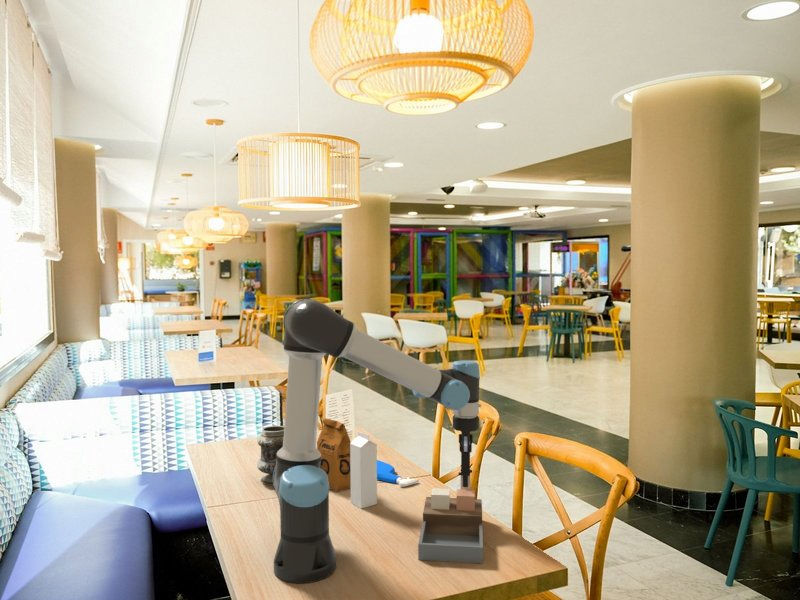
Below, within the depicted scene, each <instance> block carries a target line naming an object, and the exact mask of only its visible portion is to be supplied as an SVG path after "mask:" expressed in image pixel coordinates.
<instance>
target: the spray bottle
mask: <svg viewBox="0 0 800 600" xmlns="http://www.w3.org/2000/svg"><path fill="white" fill-rule="evenodd" d="M379 480H380V482H385V483H386V482H387V483H391V484H397V485H399V488H404V487H408V486H411V485H414V484H415V485H416V484H417V483H419V479H417V478H416V479H414V478H410V477H409V476H407V477H406V478H403V477H402V476H401V475H396V474H395V467H394V466H393V465H391V463H390V464H389V463H387V462H384V461H381V460H379V459H377V481H379Z"/></svg>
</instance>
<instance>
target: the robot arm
mask: <svg viewBox="0 0 800 600" xmlns="http://www.w3.org/2000/svg"><path fill="white" fill-rule="evenodd" d="M282 318H283V319H282V320H283V321H282V325H283V328H284V340H283V351H284V352H285V354H286V355H288V367H287V368H288V369H287V381H286V382H287V384H286V397H285V400H286V401H285V413H284V425H283V426H284V440H283V447H282V448H281V449H280V450H279V451H278V452H277V457H276V467H275V469H274V473H273V485H272V486H273V487H274V490H275V492H276V496H277V500H278V503H279V511H280V514H279V515H280V517H279V518H280V525H279V526H280V539H279V543H278V546H277V548H276V553H275V555H274V558H273V574H274V575H275V576H276V577H277V578H278V579H280V580H282V581H285V582H287V583H288V582H289V583H297V584H302V583H303V584H304V583H313V582H316V581H319V580H320V581H321V580H323V579H326V578H327V577H329V576H330V575H332V574H333V573H334V572H335V571H336V569H337V554H336V551H335V547H334V544H333V542H332V538H331V536H330V518H329V517H330V514H329V513H330V503H329V502H330V500H329V499H330V497H329V496H330V495H329V494H330V488H329V482H328V476H327V474H326V472H325V471H324V470H322V469H321V468H320V464H321V453H320V452H319V451H318V449H317V439H318V438H317V437H318V436H317V435H318V425H319V424H318V423H319V407H320V406H319V405H320V395H321V394H320V393H321V378H322V364H323V363H322V362H323V358H324V357H325V356H326V355H328V356H331V357H332V358H334V359H335V358H336V359H339V358H344V359H346V360H349V361H351V362H353V363H355V364H357V365H359V366H361V367H363V368H365V369H368V370H369V371H372V372H374V373H376V374H377V375H380V376H382V377H385V378H386V379H388V380H390V381H392V382H395V383H397V384H399V385H400V386H403V387H404V388H406V389H410V390H412V394H413V396H414V397H415V398H417V399H419V398H420V399H429V400H431V401H433V402H436V403H438V404H439V405H441V406H443V407H444V408H446V409H448V410H452V415H453V416H452V428H453V429H454V430H455V431H459V432H461V433H458V443H459V452H460V455H461V456H460V458H461V459H460V460H461V461H460V471H459V472H458V476H460V489H464V490H471V474H472V473H473V469H471V453H472V451H473V450H472V449H473V448H472V447H473V446H472V444H473V438H474V437H473V434H472V433H471V432H475V431H478V430H479V429H480V417H479V414H480V408H482V404H481V403H480V379H481V377H480V373H481V372H480V365H479V364H478V362H477V361H474V360H464V359H463V360H455V361H454V362H453V364H452V367H451V368H448V369H436V368H435V367H433V366H431V365H428V364H426V363H424V362H423V361H420V360H419V359H417V358H414V357H413V356H411V355H409V354H408V353H405V352H403V351H401V350H399V349H397V348H395V347H393V346H391V345H389V344H387V343H385V342H383V341H381V340H379V339H377V338H375V337H373V336H372V335H369V334H368V333H366V332H363V331H362V330H359V329H358V328H356V325H355V323H354V322H353V321H351V320H349V319H347V318H346V317H343V316H342V315H340V314H339V313H337V312H336V311H335V310H333V308H331V307H329V306H328V305H327V304H324V302H320V301H318V300H316V299H312V298H302V299H299V300H296V301H295V302H293V303H291V304H290V305H289V306H288V308H287V309H286V311H285V312H284V315H283V317H282Z"/></svg>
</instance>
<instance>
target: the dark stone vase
mask: <svg viewBox="0 0 800 600" xmlns="http://www.w3.org/2000/svg"><path fill="white" fill-rule="evenodd" d="M283 440H284V425H269V426H265V427H262V429H261V434H260V435H259V436H257V441H256V442H257V445H258V446H259V447H260V458H259V459H258V460H257V462H256V466H257V470H259V471H260V472H261V473H263V474H266V475H265V476H262V477H261V479H260V482H261V484H264V485H269V486H270V485H271V486H274V485H273V473H274V469H275V467H276V457H277V452H278V451H279V450H280V449H281V448H282V447H283Z"/></svg>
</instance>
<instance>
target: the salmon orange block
mask: <svg viewBox="0 0 800 600" xmlns="http://www.w3.org/2000/svg"><path fill="white" fill-rule="evenodd" d="M475 492H476V490H475V489H470V490H464V489H461V488H457V489H456V498H457V502H456V510H467V511H475V499H476V497H475V495H476V493H475Z"/></svg>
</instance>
